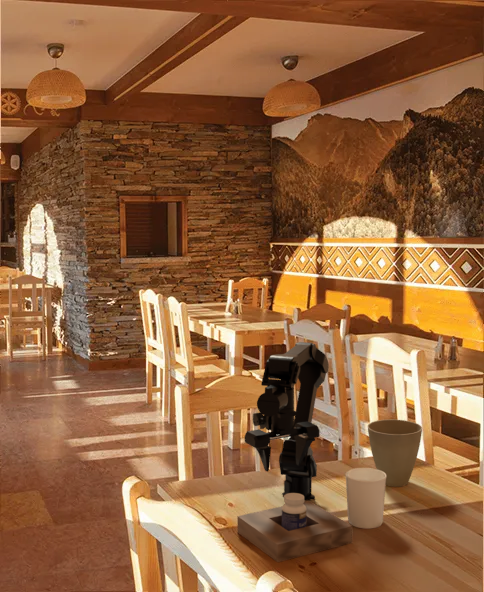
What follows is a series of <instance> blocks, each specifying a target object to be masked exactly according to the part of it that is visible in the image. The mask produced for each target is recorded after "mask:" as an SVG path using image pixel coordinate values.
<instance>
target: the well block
mask: <svg viewBox="0 0 484 592" xmlns="http://www.w3.org/2000/svg"><path fill="white" fill-rule="evenodd" d="M303 504H304V505H305V506H306V527H303V528H299V529H295V530H291V531H288V530H286V529H285V528H283V527H282V506H283V505H282V506H278V507H273V508H268V509H267V508H266V509H264V510H259V511H255V512H250V513H245V514H240V515H238V516H237V518H236V519H237V533H238V534H239V535H241V536H242V538H245V539H246V540H247V541H249V542H250V543H251V544H252V545H253V546H256V547H257V548H258V549H260V550H261V551H262V552H263V553H265V554H266V555H267V556H268V557H270V558H272V559H273V560H274V561H275V562H277V563H280V562H284V561H287V560H292V559H294V558H300V557H303V556H307V555H310V554H315V553H317V552H321V551H325V550H329V549H334V548H337V547H341V546H344V545H348V544H353V525H351V524H350V523H349V522H347V521H345V520H344V519H341V518H340V517H338V516H336V515H334V514H333V513H331V512H330V511H328V510H326V509H324V508H322V507H321V506H319V505H317V504H315V503H313V502H312V501H310V500H304V503H303Z"/></svg>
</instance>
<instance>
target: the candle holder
mask: <svg viewBox="0 0 484 592" xmlns="http://www.w3.org/2000/svg"><path fill="white" fill-rule="evenodd" d="M386 477H387V476H386V474H385V473H384V472H383V471H381V470H377V469H376V468H372V467H354V468H351V469H348V470H346V471H345V484H346V485H345V486H346V487H345V488H346V489H345V490H346V503H347V505H346V506H347V509H346V510H347V521H348V524H350V525H352V527H355V528H360V529H375V528H379V527H381V526H382V525H383V521H384V511H385V497H386V486H387V485H386Z"/></svg>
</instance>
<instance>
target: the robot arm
mask: <svg viewBox="0 0 484 592" xmlns="http://www.w3.org/2000/svg"><path fill="white" fill-rule="evenodd" d="M329 367H330V365H329V359H328V357H327V356H326V354H325V353H324V352H323V351H321V350H320V349H319V348H318V347H317V346H316V344H315V343H313V342H307V341H305V342H304V341H299V342H296V343H295V344H294V346H292V347H291V348H290V349H289V350H288V351H287V352H285V353H282V354H281V353H280V354H279V353H278V354H272V355H270V356H269V358H268V359H267V361H266V363H265V366H264V369H263V370H264V371H263V375H262V380H261V386H264V392H263V393H261V394H260V395H259V396H258V398H257V401H256V408H257V410H258V411H259V412H254V413H252V423H253V426H254V427H258V426H259V428H257V429H252V430H248V431H246V432H245V433H244V443H246V444H247V445H249V446H251V447H252V448H255V450H256V451H257V454H258V455H259V457H260V460H261V463H262V466H263V469H264V471H265V472H269V471H270V465H271V464H270V462H271V453H272V451H271V450H272V447H271V446H270V444H271V441H274V440H278V439H284V441H283V442H282V443H283V444H282V449H281V452H280V454H279V457H278V464H279V470H280V472H279V473H280V475H281V476H283V475H284V476H285V480H284V481H283V492H282V493H281V495H282V497H284V495H285V494H288V493H299V494H302V495H303V496H304V501H309V500H312V499H315V498H316V496H315V495H314V494H313V493H312V478H316V477H317V471H318V466H317V463H316V460H315V457H314V456H313V453H314V452H313V448H312V446H311V445H312V443H314V442H315V441H316V438H319V437H321V436H320V435H321V433H320V432H321V431H320V428H319V426H318V425H317V424H315V423H312V420H313V416H314V410H315V402H316V399H317V397H316V396H317V391H318V389H319V387H320V386H321V385H323V383H324V382H325V381H326V379H325V378H326V374H328V372H329ZM298 381H299V383H300V384H299V391H298V395H297V403H296V409H295V385H297V382H298ZM263 429H265V430H266V431H268V432H265V431H263ZM285 438H287V439H285Z"/></svg>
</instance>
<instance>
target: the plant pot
mask: <svg viewBox="0 0 484 592" xmlns="http://www.w3.org/2000/svg"><path fill="white" fill-rule="evenodd" d="M367 433H368V434H367V435H368V439H369V445H370V450H371V455H372V458H373V461H374V465H375V469H377V470H381V471H383V472H384V473H385V474H386V476H387V477H386V486H389V487H395V488H396V487H398V488H399V487H404V486H407V485H408V484H409V481H410V479H411V477H412V474H413V471H414V468H415V465H416V462H417V458H418V454H419V451H420V445H421V439H422V433H423V426H422V425H421V424H419V423H417V422H414V421H410V420H405V419H404V420H403V419H380V420H379V419H378V420H374V421H372V422H369V423H368V424H367Z"/></svg>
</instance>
